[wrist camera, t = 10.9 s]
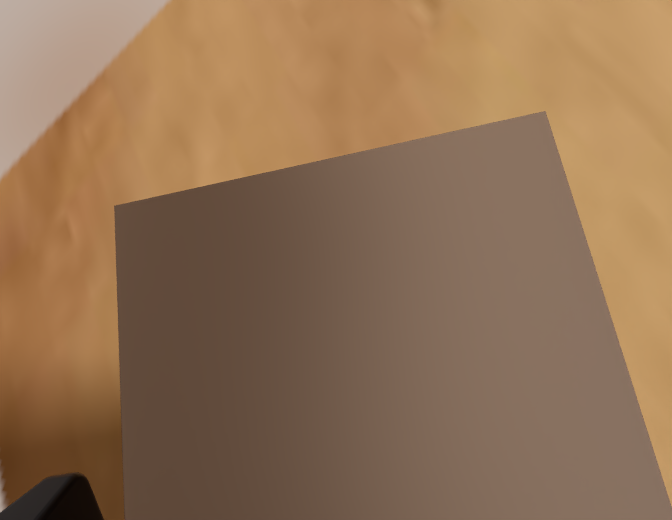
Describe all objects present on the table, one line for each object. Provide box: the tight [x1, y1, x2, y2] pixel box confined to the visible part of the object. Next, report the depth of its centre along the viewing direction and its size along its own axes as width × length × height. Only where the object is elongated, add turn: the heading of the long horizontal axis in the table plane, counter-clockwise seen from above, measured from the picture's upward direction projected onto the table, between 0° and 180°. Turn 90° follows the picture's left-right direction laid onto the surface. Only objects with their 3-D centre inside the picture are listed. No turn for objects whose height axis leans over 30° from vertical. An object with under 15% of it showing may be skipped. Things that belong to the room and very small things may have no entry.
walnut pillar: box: [114, 111, 672, 520], centre depth 11 cm, size 4×4×11 cm
